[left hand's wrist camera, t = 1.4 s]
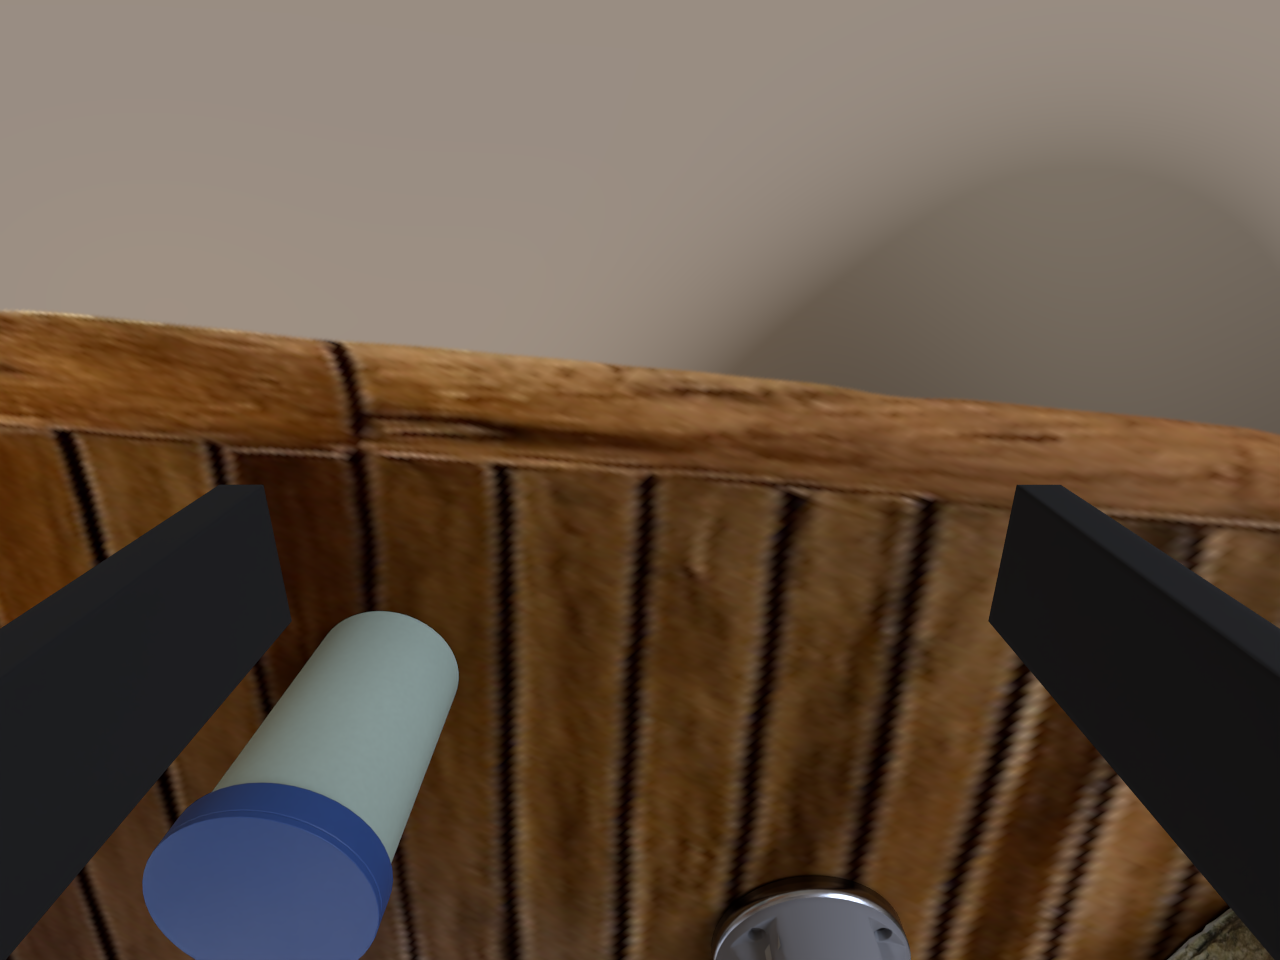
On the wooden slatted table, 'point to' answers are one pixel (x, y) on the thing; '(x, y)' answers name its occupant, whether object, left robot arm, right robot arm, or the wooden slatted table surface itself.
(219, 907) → the lid
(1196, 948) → the fossil
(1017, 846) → the wooden slatted table surface
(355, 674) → the jar
